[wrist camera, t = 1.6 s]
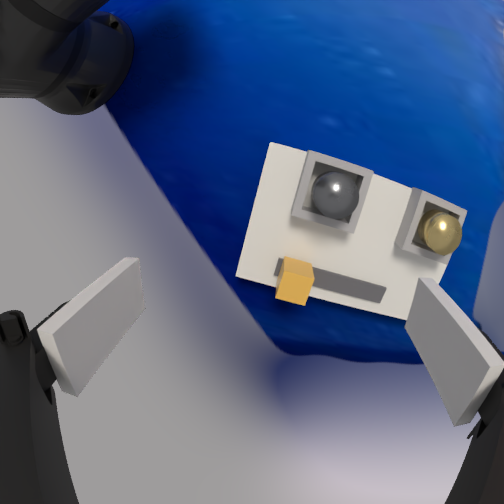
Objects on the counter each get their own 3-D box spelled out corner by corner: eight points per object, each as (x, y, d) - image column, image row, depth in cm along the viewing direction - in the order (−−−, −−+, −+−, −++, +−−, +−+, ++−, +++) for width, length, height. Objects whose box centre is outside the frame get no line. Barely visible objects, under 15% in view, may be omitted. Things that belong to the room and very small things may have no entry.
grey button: (306, 205, 28) (308, 211, 26) (317, 165, 27) (321, 167, 24) (345, 217, 28) (351, 224, 25) (357, 178, 27) (364, 181, 24)
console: (239, 266, 36) (231, 285, 31) (272, 141, 31) (269, 139, 26) (411, 311, 36) (426, 333, 31) (455, 206, 31) (478, 216, 26)
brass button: (412, 239, 28) (424, 248, 25) (425, 204, 27) (438, 210, 24) (440, 250, 28) (453, 259, 25) (453, 216, 27) (467, 223, 24)
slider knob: (276, 280, 33) (275, 298, 29) (284, 255, 32) (284, 270, 28) (302, 287, 33) (304, 305, 29) (311, 263, 32) (314, 278, 28)
